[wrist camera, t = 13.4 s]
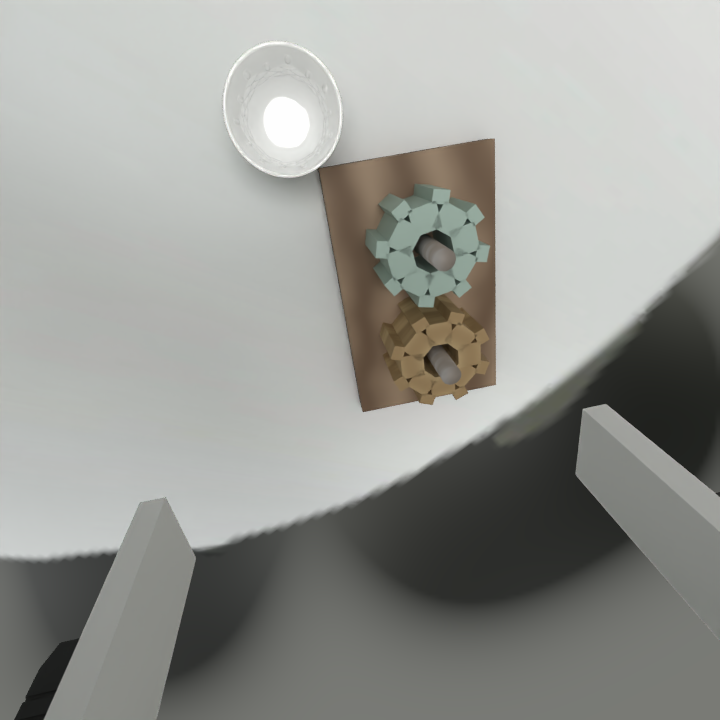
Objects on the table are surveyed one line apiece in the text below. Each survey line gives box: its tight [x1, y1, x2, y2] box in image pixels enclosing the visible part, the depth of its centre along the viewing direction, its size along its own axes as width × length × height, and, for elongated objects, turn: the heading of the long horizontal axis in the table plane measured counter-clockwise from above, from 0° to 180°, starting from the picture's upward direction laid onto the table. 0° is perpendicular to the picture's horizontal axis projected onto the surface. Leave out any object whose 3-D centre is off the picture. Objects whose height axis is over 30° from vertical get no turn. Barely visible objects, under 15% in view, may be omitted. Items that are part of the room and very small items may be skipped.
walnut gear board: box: [318, 139, 496, 412], centre depth 40 cm, size 16×26×11 cm, turn 9°
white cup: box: [222, 41, 343, 178], centre depth 32 cm, size 8×8×10 cm
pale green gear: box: [365, 184, 490, 307], centre depth 38 cm, size 10×10×6 cm
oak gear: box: [380, 294, 490, 405], centre depth 43 cm, size 10×10×6 cm
